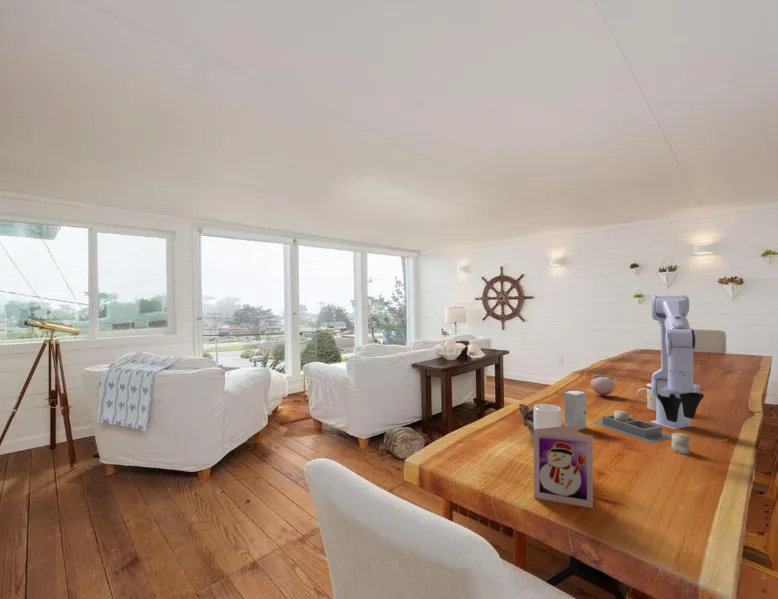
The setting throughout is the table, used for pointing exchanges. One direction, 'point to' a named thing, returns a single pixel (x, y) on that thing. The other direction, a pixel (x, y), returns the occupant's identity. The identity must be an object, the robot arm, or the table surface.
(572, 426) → the greeting card
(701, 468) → the table surface
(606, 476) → the table surface
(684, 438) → the cream cylinder
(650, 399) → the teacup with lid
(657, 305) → the robot arm
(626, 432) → the gray compartment tray
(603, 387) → the decorative fruit
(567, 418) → the skincare box
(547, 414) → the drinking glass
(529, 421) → the seed pod
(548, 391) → the table surface
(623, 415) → the beige round piece
